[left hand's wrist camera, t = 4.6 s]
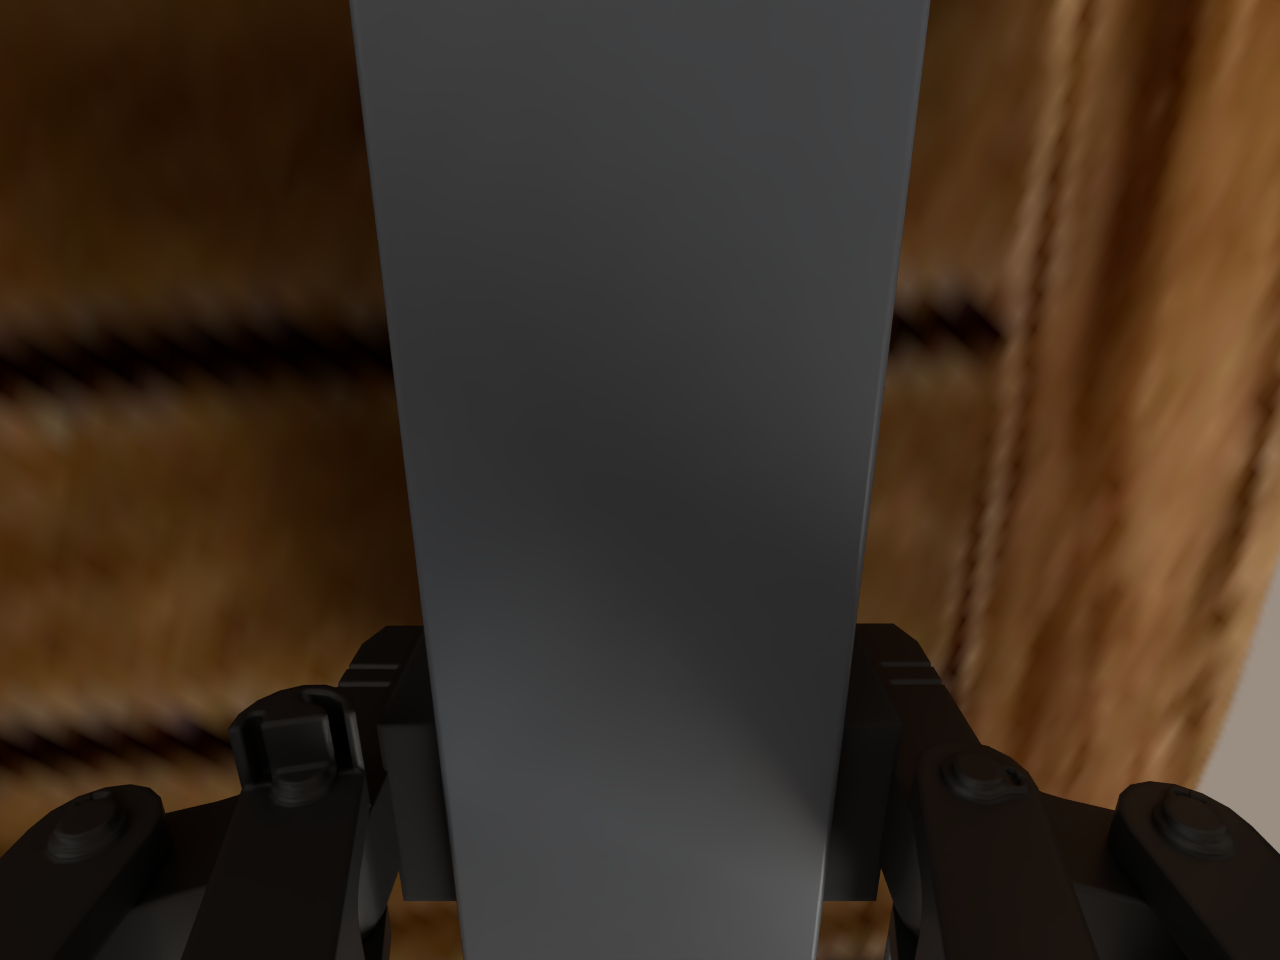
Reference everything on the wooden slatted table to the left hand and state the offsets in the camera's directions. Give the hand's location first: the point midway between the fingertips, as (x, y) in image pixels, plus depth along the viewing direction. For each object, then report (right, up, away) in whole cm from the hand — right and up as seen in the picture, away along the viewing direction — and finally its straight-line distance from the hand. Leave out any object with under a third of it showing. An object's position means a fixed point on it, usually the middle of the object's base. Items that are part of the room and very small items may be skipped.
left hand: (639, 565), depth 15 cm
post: (0, +31, -11) cm, 33 cm away
